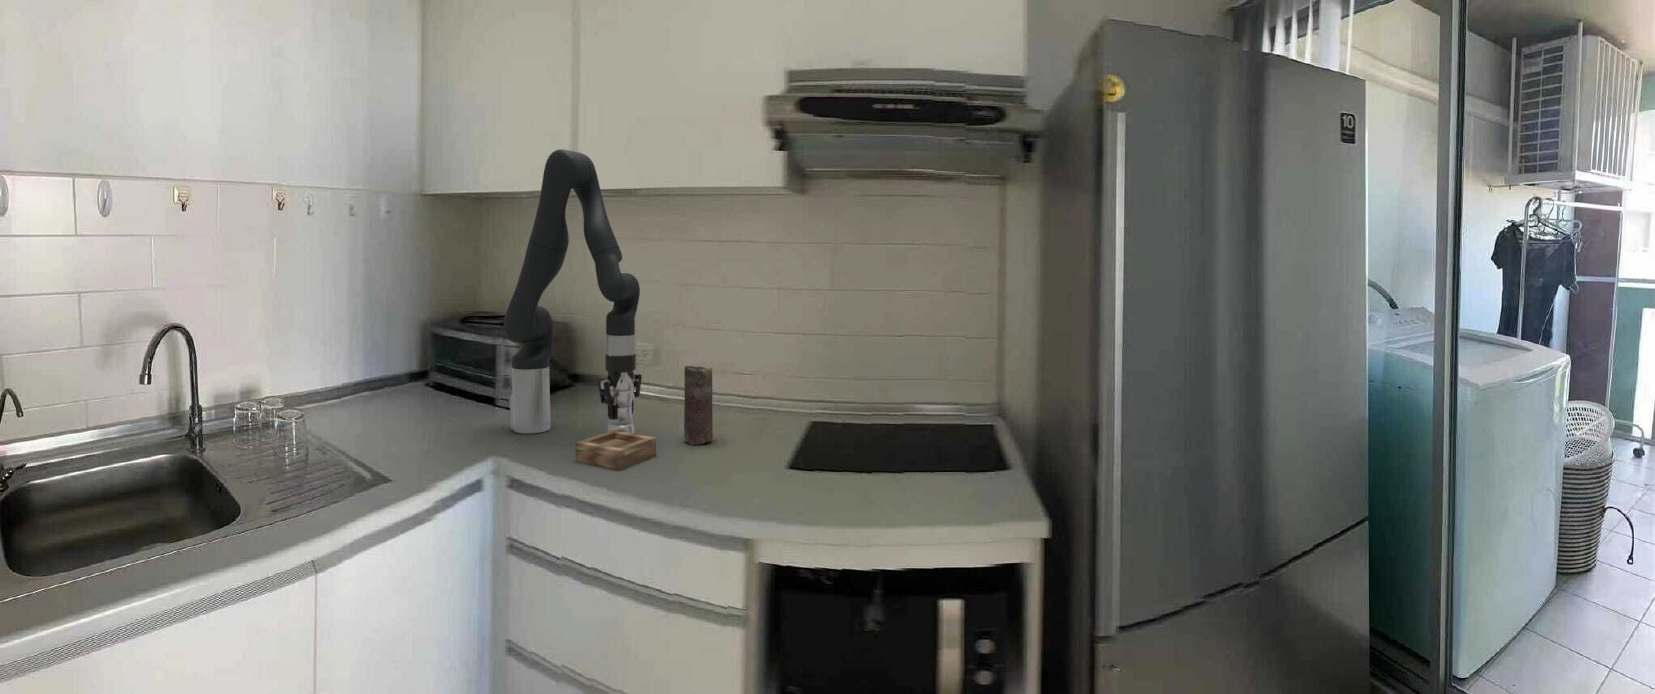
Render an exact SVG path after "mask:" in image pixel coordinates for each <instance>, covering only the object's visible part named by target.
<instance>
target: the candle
mask: <svg viewBox="0 0 1655 694" xmlns="http://www.w3.org/2000/svg"><path fill="white" fill-rule="evenodd" d="M683 415H684V420H683V423H684V424H683V425H684V427H683V428H684V429H683V432H684V433H683V435H684V437H683V438H684V441H685V442H686V443H687V444H688V445H691V446H695V445H702V444H704V443H709V442H711V441H712V440H713V437H714V434H713V433H714V432H713V431H714V430H713V428H714V427H713V426H714V424H713V419H714V418H713V416H714V415H713V368H711V367H708V368H707V367H705V366H704V367H703V366H693V365H692V366H691V365H685V366H684V414H683Z"/></svg>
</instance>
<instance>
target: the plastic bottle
mask: <svg viewBox="0 0 1655 694" xmlns="http://www.w3.org/2000/svg"><path fill="white" fill-rule="evenodd" d="M622 379H624V380H623V382H622V384H621V380H622ZM633 388H634V389H635V387H634V385H633V381H632V380H631V379H630V377H629V376H628V374H627V372H624V373H621V377H620V378H619V381H618V383H617V386H616V387H615V388H614V387H613V385H611V388H610V392H613V393H616V392H617V390H618V389H619V391H620V392H619V393H620V396H619V397H618V401H617V404H616V405H617V419H616V420H611V419H609V418H608V421H609V422H608V426H607V432H610V431H613V430H616V431H622V432H627V433H633V434H635V427H634V422H633V414H632V406H631V405H632V395H633ZM613 398H614V396H612V395H611V399H612V400H613Z"/></svg>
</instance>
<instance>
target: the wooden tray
mask: <svg viewBox="0 0 1655 694" xmlns="http://www.w3.org/2000/svg"><path fill="white" fill-rule="evenodd" d="M656 456H657V437H654V436H647V435H644V434H638V433H634V434H633V433H627V432H622V431H616V430H613V431H610V432H608V431H607V432H604V433H601V434H598V435H594V436H591V437H588V438H585V439H583V440H579V441H575V462H579V463H581V464H587V465H591V466H592V465H593V466H596V467H602V468H607V469H613V470H617V471H621V470H624V469H627V468H628V467H631V466H634V465H636V464H639V463H641V462H643V461H647V460H649V459H652V458H653V457H656Z"/></svg>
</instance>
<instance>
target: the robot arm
mask: <svg viewBox="0 0 1655 694" xmlns="http://www.w3.org/2000/svg"><path fill="white" fill-rule="evenodd" d="M599 182H600V181H599V177H598V173H597V170H596V167H595V164H594V162H593V160H592V159H591V158H590V157H589V155H586V154H584V153H582V152H579V151H572V150H568V149H564V148H563V149H561V148H560V149H555V150H554V151H552V152H551V153H550V155H549V156H548V157H547V160H546V161H545V166H544V169H543V175H542V182H541V189H540V195H539V201H538V205H537V209H536V214H535V218H534V221H533V224H532V225H533V226H532V229H531V233H530V235H529V239H528V243H527V247H526V250H525V254H524V258H523V263H522V267H521V270H520V273H519V276H518V281H517V284H516V286H515V290H514V292H513V295H512V297H511V299H510V301H509V304H508V307H507V308H506V309H507V310H506V312H505V315H504V317H503V318H504V319H503V331H504V334H505V336H506V338H507V339H508V340H509V341H510V342H511V343H515V344H522V346H521V348H520V349H519V350H518V352H516V353H515V354H514V355H513V356H512V357H511V384H512V385H511V386H512V387H511V389H512V391H511V392H512V393H511V394H510V395H509V410H510V411H509V412H510V413H509V414H510V416H509V418H510V430H512V431H513V432H514V433H516V434H517V433H518V434H524V435H525V434H526V435H529V434H539V433H545V432H548V431H550V429H551V393H550V390H551V389H550V385H551V384H550V360H551V358H552V355H553V339H554V338H553V337H554V334H553V333H554V325H553V318H552V316H551V314H550V312H549V310H548V309H547V308H545V307H543V306H538V305H539V302H540V299H541V297H542V295H543V294H544V291H546V289H547V288H548V286H549V285H550V284H551V283H552V282H553V281H554V279H555V278H556V276H557V275H558V274H559V272H560V271H561V269H562V267H563V265H564V262H565V259H566V255H567V251H568V247H569V243H570V241H569V240H570V239H569V238H570V237H569V231H568V225H567V224H568V223H567V218H566V210H567V204H568V200H569V197H570V194H571V191H574V194H576V197H577V198H578V201H579V202H580V205H581V209H582V213H583V234H584V240H585V243H586V245H587V248H588V251H589V253H590V255H591V257H592V260H593V262H594V268H595V274H596V281H597V286H598V288H599V289H598V290H599V292H600V294H601V295H602V296H603V297H604V299H606V300H607V301H609V302H611V303H613V307H612V309H611V310H610V311H609V312H607V314H606V317H605V339H604V341H605V342H604V348H605V349H604V357H605V358H604V360H605V361H604V362H605V363H604V364H605V365H604V367H605V368H604V369H605V371H606V372H607V376H606V379H605V380H599V381H598V384H597V385H598V391H599V396H600V403H601V404H603V405H607V418H608V420H609V419H611V420H616V419H617V405H616V404H617V401H618V397H619V396H620V393H619V392H620V391H619V389H618V390H617V392H616V393H613V392H610V388H611V385H613V387H614V388H615V387H616V386H617V383H618V381H619V378H620V377H621V373H624V372H627V374H628V376H629V377H630V379H631V380H632V381H633V385H634V388H633V395H632V405H631V406H632V415H633V414H634V409H635V408H634V404H635V399H636V398H638V397H640V393H641V386H642V378H643V377H642V376H643V375H642V374H639V373H634V371H635V370H636V369H637V342H636V333H635V332H636V324H635V323H636V322H635V321H636V320H635V318H636V315H637V314H636V313H637V310H638V306H639V302H640V295H641V291H640V290H641V288H640V283H639V281H638V279H637V277H635V276H634V275H633V274H632V273H629V272H628V273H627V272H621V268H620V264H619V263H621V262H622V259H623V254H622V250H621V248H620V246H619V244H618V240H617V239H616V236H615V234H614V232H613V229H612V227H611V224H610V223H611V222H610V221H609V218H608V214H607V210H606V207H605V203H604V199H603V194H602V190H601V187H600V183H599ZM623 380H624V379H622V380H621V384H622V382H623ZM611 395H612V396H614V398H613V400H612V399H611Z"/></svg>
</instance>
